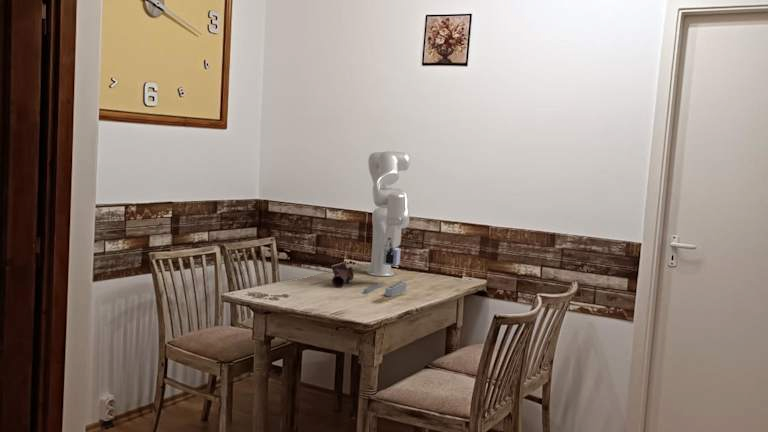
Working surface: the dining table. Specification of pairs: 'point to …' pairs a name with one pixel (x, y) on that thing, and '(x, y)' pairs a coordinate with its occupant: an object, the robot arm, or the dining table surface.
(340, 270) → the brown pipe fitting
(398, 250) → the module
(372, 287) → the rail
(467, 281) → the dining table surface
